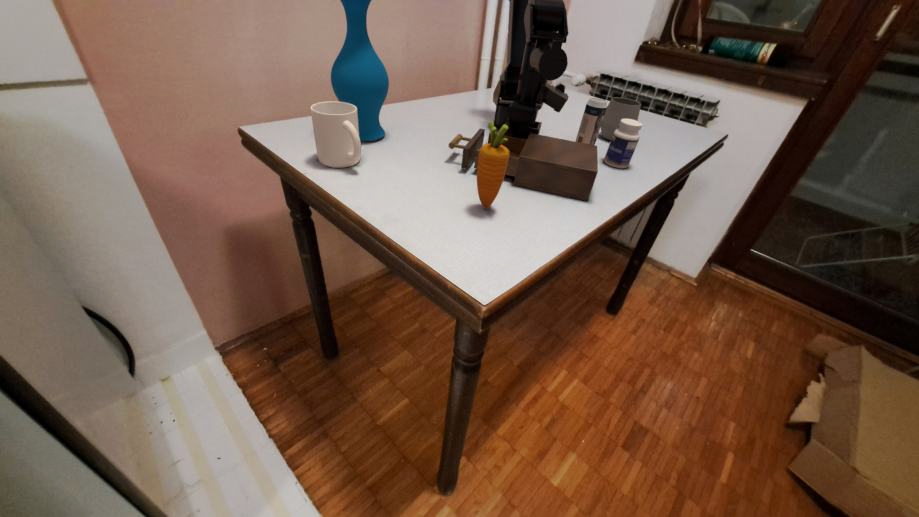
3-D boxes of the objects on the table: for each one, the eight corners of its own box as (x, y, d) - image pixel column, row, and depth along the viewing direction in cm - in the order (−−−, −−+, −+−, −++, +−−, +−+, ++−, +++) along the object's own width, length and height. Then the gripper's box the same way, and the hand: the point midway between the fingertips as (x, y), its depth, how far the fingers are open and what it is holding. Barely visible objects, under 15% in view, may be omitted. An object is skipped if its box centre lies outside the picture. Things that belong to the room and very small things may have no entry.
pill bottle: (598, 160, 88) (613, 118, 82) (616, 158, 90) (631, 117, 84) (615, 170, 84) (631, 126, 78) (633, 167, 86) (650, 125, 80)
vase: (396, 130, 90) (395, -8, 73) (379, 148, 81) (373, -7, 63) (350, 123, 91) (338, -16, 74) (327, 140, 82) (307, -16, 64)
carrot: (470, 201, 66) (481, 115, 56) (496, 202, 66) (512, 118, 57) (473, 215, 62) (485, 126, 53) (501, 216, 62) (518, 128, 53)
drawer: (441, 163, 75) (443, 143, 72) (460, 143, 85) (462, 124, 83) (526, 182, 72) (530, 161, 69) (534, 158, 82) (539, 139, 80)
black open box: (500, 148, 88) (504, 123, 84) (505, 140, 92) (509, 116, 89) (533, 154, 86) (538, 129, 83) (536, 146, 91) (541, 122, 87)
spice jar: (593, 155, 90) (609, 104, 83) (573, 151, 91) (588, 101, 83) (591, 148, 94) (607, 99, 87) (572, 145, 94) (587, 96, 87)
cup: (624, 147, 97) (639, 108, 91) (591, 137, 101) (603, 99, 95) (634, 139, 103) (648, 102, 97) (602, 130, 107) (614, 94, 101)
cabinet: (513, 185, 73) (519, 155, 69) (524, 159, 84) (529, 132, 80) (587, 201, 70) (597, 171, 66) (588, 172, 81) (597, 145, 78)
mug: (379, 169, 72) (376, 116, 66) (341, 179, 67) (334, 123, 61) (347, 149, 78) (342, 99, 72) (310, 157, 74) (302, 104, 67)
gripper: (569, 84, 70) (549, 160, 80) (573, 68, 85) (556, 135, 94) (513, 74, 72) (500, 150, 82) (526, 61, 86) (514, 127, 96)
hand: (520, 140), depth 88 cm, fingers open, 9 cm apart
